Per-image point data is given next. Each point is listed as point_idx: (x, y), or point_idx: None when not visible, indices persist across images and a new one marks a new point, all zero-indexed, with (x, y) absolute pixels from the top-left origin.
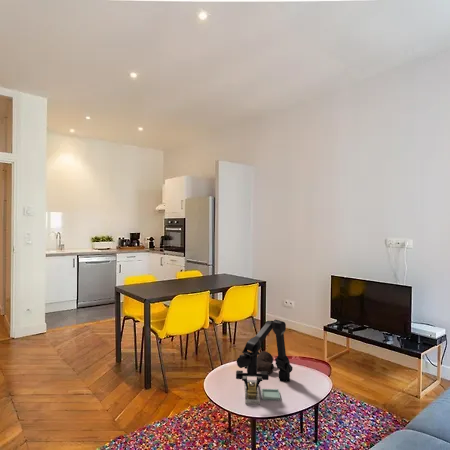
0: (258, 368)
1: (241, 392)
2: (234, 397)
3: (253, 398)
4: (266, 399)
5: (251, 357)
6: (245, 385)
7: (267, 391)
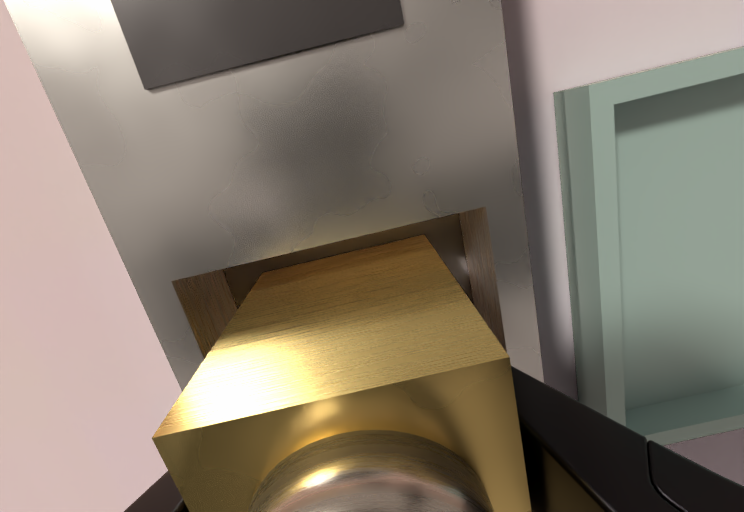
0: None
1: (124, 279)
2: (82, 482)
3: None
4: (653, 411)
5: None
6: (86, 116)
7: (713, 95)
